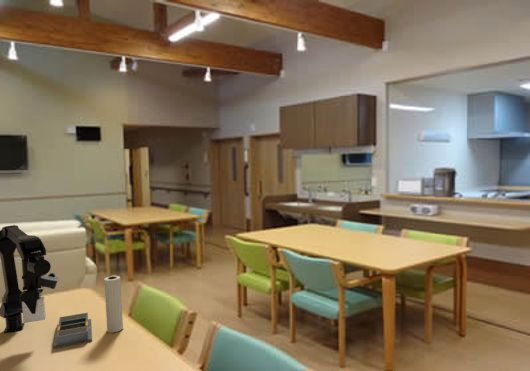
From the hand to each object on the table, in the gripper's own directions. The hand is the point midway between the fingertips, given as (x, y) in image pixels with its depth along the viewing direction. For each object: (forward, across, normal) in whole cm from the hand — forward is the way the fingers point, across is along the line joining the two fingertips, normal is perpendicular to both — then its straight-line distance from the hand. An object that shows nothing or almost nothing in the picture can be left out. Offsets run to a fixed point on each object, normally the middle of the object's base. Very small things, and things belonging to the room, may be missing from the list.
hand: (34, 312), depth 152 cm
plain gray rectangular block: (+3, 0, 0) cm, 3 cm away
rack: (+12, +3, -13) cm, 18 cm away
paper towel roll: (+12, 0, -28) cm, 31 cm away
